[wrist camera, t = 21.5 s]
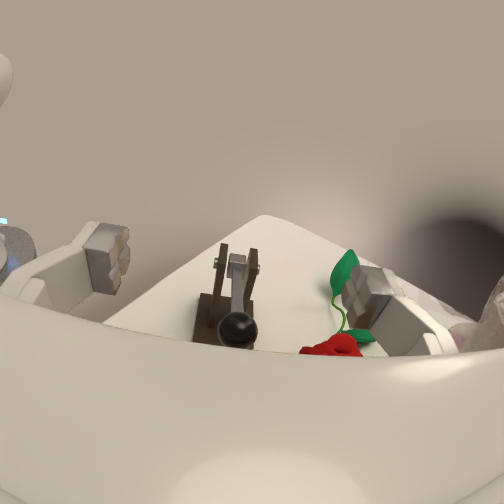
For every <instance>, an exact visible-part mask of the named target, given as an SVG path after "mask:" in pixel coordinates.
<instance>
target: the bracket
mask: <svg viewBox="0 0 504 504" xmlns="http://www.w3.org/2000/svg"><path fill="white" fill-rule="evenodd" d="M227 252H228V244H224V243H221V246H220V252H219V258H215V260H214V266H213V268H215V269H217V270H216V276H215V283H214V289H213V295H211V294H205V293H201V294H200V299H199V305H198V311H197V317H196V323H195V329H194V335H193V342H196V343H202V344H209V345H216V346H224V345H223V344H222V343H221V341H220V340H219V337H218V325H219V323H220V321H221V320H222V318H223V317H224V316H226V315H227V314H229V313H231V297H225V296H220V295H221V290H222V284H223V279H224V273H225V268H226V261H227ZM259 270H260V265H258V250H257V249H254V248H250V252H249V256H248V260H247V265H246V270H245V275H244V280H242V290H243V309H244V313H246V314H248V315H249V316H251V317H252V318H253V301H252V300H250V297H251V293H252V290H253V286H254V283H255V279H256V276H257V275H258V274H259ZM224 347H225V346H224ZM253 349H254V343H253V345H252V346H251V347H249V348H248V350H253Z"/></svg>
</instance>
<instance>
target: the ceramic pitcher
mask: <svg viewBox="0 0 504 504" xmlns="http://www.w3.org/2000/svg"><path fill="white" fill-rule="evenodd" d="M503 291H504V276H503V277H502V278H501V279H500V280H499V282H498V284H497V285H496V287H495V288H494V290H493V292H492V294H491V296H490V298H489V300H488V302H487V304H486V306H485V308H484V310H483V313H482V317H481V319H480V321H479V322H478V323H477V324H475V323H458V324H456V325H454V326H452V327H451V328H450V329H449V330H447V331H449V332H450V334H451V336H452V338H453V340H454V342H455V344H456V346H457V349H458V351H459V353H465V352H475V351H484V350H492V349H500V348H504V292H503Z"/></svg>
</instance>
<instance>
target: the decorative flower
mask: <svg viewBox="0 0 504 504" xmlns="http://www.w3.org/2000/svg"><path fill="white" fill-rule="evenodd" d="M355 265H360V264H359V260H358V258H357V256H356V255H355V253H354V251H353V250H351V249H350V250H348V251H347V252H346V253H345V254H344V256H343V257H342V258H341V259H340V260H339V262H338V263H337V264H336V266H335V267H334V269H333V271H332V274H331V277H330V284H331V287H332V290H333V297H332V300H331V302H332V305H333V306H334V307H335V308H336V309H338V310H339V311H340V312H341V313H342V316H343V323H342V326H341V328H340V330H339V331H338V332H337V333H336V334H335V335H333V336H332V337H331V338H330V339H329V340H328V341H325V342H322V343H321V344H317V345H315V346H314V347H308V346H307V347H302V349H301V350H300V351H299V354H306V355H324V356H352V357H364V356H363V355H362V354H361V353H360V351H359V349H358V345H357V342H365V343H371V342H375V341H376V339H375V338H374V337H373V336H372V334H371V333H370V332H369V330H361V329H352V330H347V331H342V329H343V327H344V325H345V321H346V317H345V313H344V312H343V310H342V309H340V308H339V307H337V306H336V305H335V304H334V301H333V300H334V298H335V297H336V296H337V295H340V294H342V289H343V287H344V285H345V283H346V282H347V281H348V280H349V279H351V278H352V277H351V271H352V269H353V267H354V266H355ZM340 332H341V333H340Z"/></svg>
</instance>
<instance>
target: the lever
mask: <svg viewBox="0 0 504 504" xmlns="http://www.w3.org/2000/svg"><path fill="white" fill-rule="evenodd" d="M246 265H247V263H246V256H245V255H239V254H233V253H230V256H229V261H228V267H227V278H232V287H231V313H229V314H227V315H226V316H224V317H223V318H222V320H221V321H220V323H219V325H218V337H219V340H220V341H221V343H222V344H223V345H224V346H225V347H231V348H240V349H248V348H249V347H251V346H252V345H253V343H254V342H255V340H256V338H257V334H258V329H257V325H256V323H255V321H254V320H253V318H252V317H251V316H249V315H248V314H246V313H244V309H243V290H242V280H244V275H245V270H246Z"/></svg>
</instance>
